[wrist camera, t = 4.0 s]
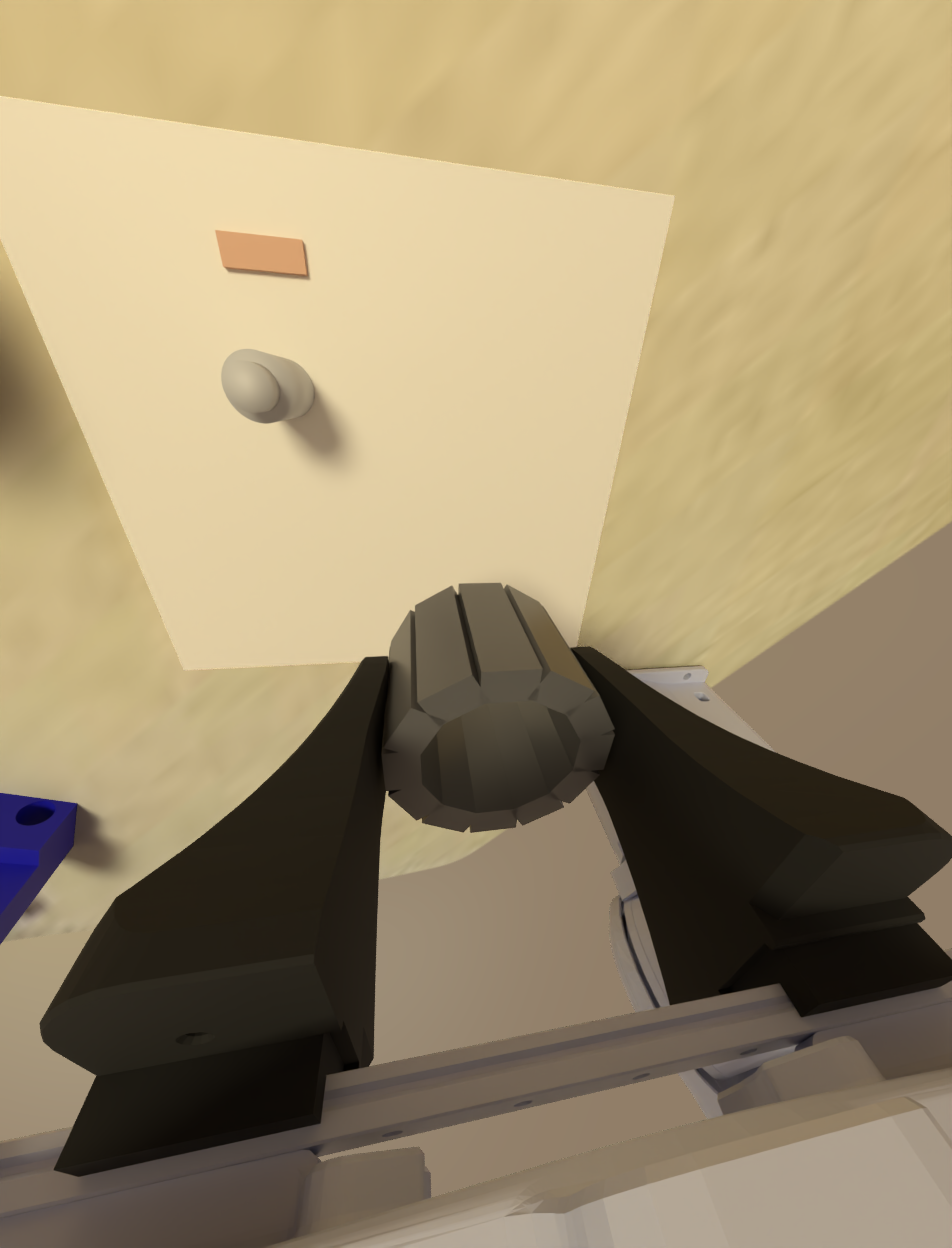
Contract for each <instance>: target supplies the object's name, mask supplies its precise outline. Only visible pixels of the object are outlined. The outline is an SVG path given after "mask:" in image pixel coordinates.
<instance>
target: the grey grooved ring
mask: <svg viewBox="0 0 952 1248" xmlns="http://www.w3.org/2000/svg"><path fill="white" fill-rule="evenodd" d="M614 729H615V728H614V726H613V724H612V722H611V720H610V717H609V715H608V713H607V711H606V709H605V706H604V704H603V702H602V700H601V698H600V695H599V694H598V692H597V691H596V689H595V687H594V686H593V684H592V683H591V681H590V679H589V678H588V676H587V675H586V673H585V672H584V670H583V668H582V667H581V665H580V664H579V662H578V660H577V659H576V657H575V656H574V654H573V652H572V651H571V649H570V648H569V646H568V645H567V643H566V641H565V640H564V638H563V637H562V635H561V633H560V632H559V630H558V629H557V627H556V625H555V624H554V622H553V621H552V619H551V618H550V616H549V614H548V613H547V611H546V610H545V608H544V606H542V605H541V604H540V602H539V601H537V600H535V599H533V598H531V597H529V596H528V595H526V594H524V593H522V592H520V591H518V590H517V589H515V588H513V587H511V586H509V585H508V584H507V585H506V586H505V588H503V586H502V584H501V583H459V585H458V594H457V592H456V591H455V589H454V588H453V586H450V587H448V588H446V589H444V590H442V591H440V592H439V593H437V594H435V595H433V596H431V597H429V598H428V599H426V600H424V601H422V602H420V603H418V604H416V605H415V612H414V611H412V610H410V611H409V613H408V614H407V616H406V617H405V619H404V621H403V622H402V624H401V626H400V627H399V629H398V631H397V632H396V634H395V635H394V637H393V639H392V640H391V646H390V649H389V675H388V689H387V696H386V701H385V714H384V727H383V740H382V753H381V755H382V764H383V772H384V781H385V790H386V791H389V793H388V796H389V797H390V798H391V799H393V800H394V801H395V802H396V803H397V804H398V805H399V806H401V807H402V808H403V809H404V810H405V811H406V812H407V813H409V814H410V815H411V816H412V817H413V818H414V819H416V820H419V819H421V818H422V823H424V824H429V825H433V826H437V827H442V828H446V829H451V830H455V831H460V832H464V831H465V830H466V829H467V828H468V827H469V826H470V833H472V832H481V831H489V830H498V829H506V828H515V827H516V823H517V820H518V821H519V822H520V823H521V824H522V825H525V824H527V823H529V822H531V821H534V820H536V819H538V818H541V817H543V816H545V815H547V814H550V813H552V812H554V811H557V810H559V809H561V808H563V807H564V806H563V803H562V801H563V802H566V803H571V802H572V801H573V800H574V799H575V798H576V797H577V796H578V795H579V794H580V793H581V792H582V791H583V790H584V789H586V788H587V787H588V786H589V785H590V784H591V783H592V782H593V781H594V780H595V779H596V778H597V777H598V776H599V775H600V773H599V771H598V770H604V767H605V764H606V761H607V758H608V754H609V751H610V748H611V745H612V742H613V739H614V736H615V734H614V732H613V730H614Z"/></svg>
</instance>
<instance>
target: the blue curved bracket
mask: <svg viewBox="0 0 952 1248" xmlns="http://www.w3.org/2000/svg"><path fill="white" fill-rule="evenodd" d="M76 812H77V803H70V802H63V801H56V800H49V799H41V798H34V797H27V796H19V795H12V794H5V793H0V944H1V943H2V942H3V940H4V939H5V938H6V936H7V935H8V933H9V932H10V931H11V929H12V928H13V927H14V925H15V924H16V923H17V921H18V920H19V919H20V917H21V916H22V915H23V913H24V912H25V910H26V909H27V908H28V906H29V905H30V904H31V902H32V901H33V900H34V898H35V897H36V896H37V894H38V893H39V892H40V890H41V889H42V887H43V886H44V885H45V883H46V882H47V881H48V879H49V878H50V877H51V875H52V874H53V873H54V871H55V870H56V868H57V867H58V866H59V864H60V863H61V862H62V860H63V859H64V858H65V856H66V855H67V854H68V852H69V851H70V850H71V848H72V847H73V843H74V833H75V822H76Z"/></svg>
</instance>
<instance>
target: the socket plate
mask: <svg viewBox="0 0 952 1248" xmlns="http://www.w3.org/2000/svg"><path fill="white" fill-rule="evenodd" d="M674 199H675V196H674V195H667V194H661V193H654V192H647V191H640V190H633V189H627V188H620V187H613V186H606V185H600V184H593V183H586V182H579V181H573V180H566V179H559V178H552V177H546V176H539V175H532V174H525V173H518V172H512V171H505V170H498V169H491V168H485V167H478V166H471V165H464V164H458V163H451V162H444V161H437V160H431V159H424V158H417V157H410V156H403V155H397V154H390V153H383V152H376V151H370V150H363V149H356V148H349V147H343V146H336V145H329V144H322V143H316V142H309V141H302V140H295V139H289V138H282V137H275V136H268V135H261V134H255V133H248V132H241V131H234V130H228V129H221V128H214V127H207V126H201V125H194V124H187V123H180V122H174V121H167V120H160V119H153V118H146V117H140V116H133V115H126V114H119V113H113V112H106V111H99V110H92V109H86V108H79V107H72V106H65V105H59V104H52V103H45V102H38V101H32V100H25V99H18V98H11V97H4V96H0V239H1V241H2V244H3V246H4V248H5V251H6V253H7V256H8V258H9V260H10V263H11V265H12V267H13V270H14V272H15V274H16V277H17V279H18V281H19V284H20V286H21V288H22V291H23V293H24V296H25V298H26V300H27V303H28V305H29V307H30V310H31V312H32V314H33V317H34V319H35V321H36V324H37V326H38V328H39V331H40V333H41V335H42V338H43V340H44V343H45V345H46V347H47V350H48V352H49V354H50V357H51V359H52V361H53V364H54V366H55V368H56V371H57V373H58V375H59V378H60V380H61V383H62V385H63V387H64V390H65V392H66V394H67V397H68V399H69V401H70V404H71V406H72V408H73V411H74V413H75V415H76V418H77V420H78V423H79V425H80V427H81V430H82V432H83V434H84V437H85V439H86V441H87V444H88V446H89V448H90V451H91V453H92V455H93V458H94V460H95V463H96V465H97V467H98V470H99V472H100V474H101V477H102V479H103V481H104V484H105V486H106V488H107V491H108V493H109V495H110V498H111V500H112V503H113V505H114V507H115V510H116V512H117V514H118V517H119V519H120V521H121V524H122V526H123V528H124V531H125V533H126V535H127V538H128V540H129V542H130V545H131V547H132V550H133V552H134V554H135V557H136V559H137V561H138V564H139V566H140V568H141V571H142V573H143V575H144V578H145V580H146V582H147V585H148V587H149V590H150V592H151V594H152V597H153V599H154V601H155V604H156V606H157V608H158V611H159V613H160V615H161V618H162V620H163V622H164V625H165V627H166V630H167V632H168V634H169V637H170V639H171V641H172V644H173V646H174V648H175V651H176V653H177V655H178V658H179V660H180V662H181V665H182V667H183V670H205V669H225V668H246V667H267V666H287V665H308V664H329V663H349V662H361V661H362V660H363V659H364V658H365V657H375V656H388V659H389V649H390V646H391V640H392V639H393V637H394V635H395V634H396V632H397V631H398V629H399V627H400V626H401V624H402V622H403V621H404V619H405V617H406V616H407V614H408V613H409V611H410V610H412V611H414V612H415V605H416V604H418V603H420V602H422V601H424V600H426V599H428V598H429V597H431V596H433V595H435V594H437V593H439V592H440V591H442V590H444V589H446V588H448V587H450V586H453V588H454V589H455V591H456V592H457V594H458V585H459V583H501V584H502V586H503V588H505V586H506V585H507V584H508V585H509V586H511V587H513V588H515V589H517V590H518V591H520V592H522V593H524V594H526V595H528V596H529V597H531V598H533V599H535V600H537V601H539V602H540V604H541V605H542V606H544V608H545V610H546V611H547V613H548V614H549V616H550V618H551V619H552V621H553V622H554V624H555V625H556V627H557V629H558V630H559V632H560V633H561V635H562V637H563V638H564V640H565V641H566V643H567V645H568V646H569V648H570V647H577V643H578V638H579V634H580V629H581V624H582V620H583V615H584V611H585V606H586V602H587V597H588V592H589V588H590V583H591V579H592V574H593V570H594V565H595V560H596V556H597V551H598V547H599V542H600V537H601V533H602V528H603V524H604V519H605V515H606V510H607V505H608V501H609V496H610V492H611V487H612V483H613V478H614V473H615V469H616V464H617V460H618V455H619V451H620V446H621V441H622V437H623V432H624V428H625V423H626V418H627V414H628V409H629V405H630V400H631V396H632V391H633V386H634V382H635V377H636V373H637V368H638V364H639V359H640V354H641V350H642V345H643V341H644V336H645V332H646V327H647V322H648V318H649V313H650V309H651V304H652V300H653V295H654V290H655V286H656V281H657V277H658V272H659V267H660V263H661V258H662V254H663V249H664V245H665V240H666V235H667V231H668V226H669V222H670V217H671V213H672V208H673V203H674Z"/></svg>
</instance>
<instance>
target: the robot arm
mask: <svg viewBox="0 0 952 1248" xmlns="http://www.w3.org/2000/svg"><path fill="white" fill-rule="evenodd" d="M570 649H571V651H572V652H573V654H574V656H575V657H576V659H577V660H578V662H579V664H580V665H581V667H582V668H583V670H584V672H585V673H586V675H587V676H588V678H589V679H590V681H591V683H592V684H593V686H594V687H595V689H596V691H597V692H598V694H599V695H600V698H601V700H602V702H603V704H604V706H605V709H606V711H607V713H608V715H609V717H610V720H611V722H612V724H613V726H614V728H615V729H614V730H613V732H614V734H615V736H614V739H613V742H612V745H611V748H610V751H609V754H608V758H607V761H606V764H605V767H604V770H598V771H599V773H600V775H599V776H598V777H597V778H596V779H595V780H594V781H593V782H592V783H591V784H590V785H589V786H588V787H587V788H586V790H587V792H588V795H589V797H590V799H591V801H592V803H593V806H594V808H595V810H596V812H597V815H598V817H599V819H600V821H601V823H602V826H603V828H604V830H605V833H606V835H607V837H608V839H609V841H610V844H611V846H612V848H613V850H614V853H615V855H616V857H617V859H618V862H619V863H620V866H619V867H617V868H616V869H614V870H613V871H611V875H612V878H613V880H614V882H615V885H616V887H617V890H618V891H619V894H620V895H618V896H616V897H615V898H614V899H613V900H612V902H611V904H610V911H609V919H610V922H609V936H610V943H611V948H612V953H613V956H614V960H615V963H616V966H617V969H618V972H619V975H620V978H621V981H622V983H623V986H624V988H625V991H626V993H627V995H628V997H629V999H630V1002H631V1004H632V1006H633V1008H634V1010H635V1013H630V1014H626V1015H621V1016H616V1017H611V1018H606V1019H601V1020H596V1021H591V1022H586V1023H581V1024H576V1025H571V1026H566V1027H562V1028H557V1029H552V1030H547V1031H542V1032H537V1033H532V1034H527V1035H522V1036H518V1037H512V1038H507V1039H502V1040H497V1041H492V1042H487V1043H483V1044H478V1045H473V1046H468V1047H463V1048H458V1049H453V1050H449V1051H443V1052H438V1053H434V1054H428V1055H424V1056H419V1057H414V1058H409V1059H404V1060H399V1061H394V1062H389V1063H384V1064H379V1065H375V1066H369V1065H370V1063H371V1061H372V1060H373V1058H374V1057H373V1056H374V1011H375V970H376V938H377V908H378V880H379V856H380V836H381V826H382V817H383V809H384V802H385V795H386V790H385V781H384V772H383V764H382V755H381V753H382V740H383V727H384V714H385V701H386V696H387V689H388V675H389V659H388V656H375V657H365V658H364V659H363V660H362V661H361V663H360V665H359V667H358V668H357V670H356V672H355V673H354V675H353V677H352V678H351V680H350V681H349V683H348V685H347V686H346V688H345V689H344V691H343V692H342V693H341V695H340V696H339V698H338V699H337V701H336V702H335V703H334V705H333V706H332V708H331V709H330V710H329V712H328V713H327V714H326V715H325V717H324V718H323V719H322V720H321V722H320V723H319V724H318V725H317V727H316V728H315V729H314V730H313V732H312V733H311V734H310V735H309V736H308V738H307V739H306V740H305V741H304V742H303V743H302V744H301V746H300V747H299V748H298V749H297V750H296V751H295V752H294V753H293V754H292V755H291V756H290V757H289V758H288V759H287V761H286V762H285V763H284V764H283V765H282V766H281V767H280V768H279V769H278V770H277V771H276V772H275V773H274V774H272V775H271V776H270V777H269V778H268V779H267V780H266V781H265V782H264V783H263V784H262V785H261V786H260V787H259V788H258V789H257V790H256V791H255V792H253V793H252V794H251V795H250V796H249V797H248V798H247V799H246V800H245V801H243V802H242V803H241V804H240V805H239V806H238V807H236V808H235V809H234V810H233V811H232V812H230V813H229V814H228V815H227V816H225V817H224V818H223V819H222V820H221V821H219V822H218V823H217V824H216V825H215V826H213V827H212V828H211V829H210V830H208V831H207V832H206V833H205V834H204V835H202V836H201V837H200V838H198V839H197V840H196V841H195V842H193V843H192V844H191V845H189V846H188V847H187V848H185V849H184V850H183V851H181V852H180V853H178V854H177V855H176V856H174V857H173V858H171V859H170V860H169V861H167V862H166V863H165V864H163V865H162V866H160V867H159V868H158V869H156V870H155V871H153V872H152V873H151V874H149V875H148V876H146V877H145V878H144V879H142V880H141V881H139V882H138V883H137V884H135V885H134V886H132V887H131V888H129V889H128V890H126V891H125V892H124V893H122V894H121V895H119V896H118V897H116V898H115V900H114V902H113V903H112V905H111V906H110V908H109V909H108V911H107V912H106V913H105V915H104V916H103V918H102V919H101V921H100V922H99V924H98V925H97V926H96V928H95V929H94V931H93V933H92V934H91V936H90V938H89V940H88V941H87V943H86V944H85V946H84V948H83V949H82V951H81V953H80V955H79V956H78V958H77V960H76V961H75V963H74V965H73V967H72V968H71V970H70V972H69V974H68V975H67V977H66V979H65V980H64V982H63V984H62V985H61V987H60V989H59V991H58V992H57V994H56V996H55V997H54V999H53V1001H52V1003H51V1004H50V1006H49V1008H48V1010H47V1011H46V1013H45V1015H44V1017H43V1018H42V1020H41V1022H40V1030H41V1036H42V1039H43V1042H44V1043H45V1044H47V1045H48V1046H49V1047H50V1048H51V1049H52V1050H53V1051H55V1052H57V1053H58V1054H60V1055H62V1056H64V1057H65V1058H67V1059H69V1060H70V1061H72V1062H74V1063H76V1064H77V1065H79V1066H81V1067H83V1068H84V1069H86V1070H88V1071H90V1072H91V1073H93V1074H95V1075H96V1078H95V1080H94V1082H93V1084H92V1087H91V1089H90V1091H89V1093H88V1096H87V1097H86V1100H85V1102H84V1105H83V1107H82V1108H81V1111H80V1113H79V1115H78V1117H77V1119H76V1121H75V1124H74V1126H73V1127H69V1128H63V1129H59V1130H54V1131H49V1132H44V1133H39V1134H34V1135H29V1136H24V1137H19V1138H14V1139H9V1140H4V1141H0V1248H952V948H951V949H947V950H942V949H941V948H940V947H939V945H937V944H936V942H935V941H934V940H933V939H932V938H931V937H930V936H929V935H928V934H927V933H926V932H925V931H924V930H923V929H922V928H921V927H920V926H919V925H918V924H917V923H918V922H922V921H923V920H925V916H924V913H923V912H922V911H921V910H920V909H919V908H918V907H917V906H916V905H915V904H914V903H913V902H912V901H911V900H910V899H909V898H908V897H907V896H909V895H910V894H911V893H912V892H914V891H915V890H916V889H917V888H919V887H920V886H921V885H922V884H923V883H925V882H926V881H927V880H929V879H930V878H931V877H932V876H933V875H935V874H936V873H937V872H938V871H939V870H940V869H942V868H943V867H944V866H945V865H946V864H947V863H948V862H949V861H950V859H951V858H952V836H951V835H950V834H949V833H948V832H946V831H945V830H944V829H943V828H941V827H940V826H939V825H937V823H935V822H934V821H933V820H932V819H930V818H929V817H928V816H927V815H926V814H924V813H923V812H922V811H921V810H919V809H918V808H917V807H916V806H915V805H913V804H912V803H911V802H909V801H908V800H906V799H905V798H903V797H900V796H897V795H894V794H890V793H888V792H884V791H881V790H878V789H875V788H872V787H869V786H866V785H862V784H860V783H857V782H853V781H850V780H847V779H844V778H841V777H838V776H835V775H833V774H830V773H827V772H824V771H822V770H819V769H816V768H814V767H811V766H808V765H806V764H803V763H800V762H797V761H795V760H793V759H790V758H788V757H785V756H783V755H780V754H778V753H776V752H775V751H774V750H773V749H772V748H771V747H770V746H769V745H768V744H767V743H766V742H765V741H764V740H763V739H762V738H761V737H760V736H759V735H758V734H757V733H756V732H755V731H754V730H753V729H752V728H751V727H750V726H749V725H748V724H747V723H746V722H745V721H744V720H743V719H742V718H740V717H739V715H738V714H737V713H735V712H734V711H733V710H732V709H731V708H730V707H729V706H728V705H727V704H726V703H725V702H724V701H723V700H722V699H721V698H720V697H719V696H718V695H717V694H716V693H715V692H714V691H713V690H712V689H711V688H710V687H709V686H708V685H707V684H706V683H705V680H706V678H707V676H708V670H707V669H706V668H705V667H703V666H691V667H674V668H657V669H639V670H625V669H623V668H622V667H620V666H619V665H617V664H616V663H614V662H613V661H612V660H610V659H609V658H607V657H606V656H604V655H603V654H601V653H600V652H598V651H596V650H595V649H593V648H591V647H570ZM676 1073H678V1074H679V1076H680V1077H681V1079H682V1080H683V1081H684V1083H685V1084H686V1086H687V1087H688V1089H689V1090H690V1092H691V1093H692V1095H693V1096H694V1098H695V1100H696V1101H697V1103H698V1105H699V1106H700V1108H701V1109H702V1111H703V1113H704V1114H705V1116H706V1117H707V1119H706V1120H702V1121H698V1122H694V1123H690V1124H686V1125H682V1126H679V1127H675V1128H671V1129H667V1130H663V1131H660V1132H656V1133H652V1134H649V1135H645V1136H642V1137H638V1138H634V1139H630V1140H627V1141H623V1142H620V1143H616V1144H612V1145H609V1146H605V1147H602V1148H598V1149H595V1150H592V1151H588V1152H585V1153H581V1154H578V1155H574V1156H571V1157H567V1158H564V1159H561V1160H557V1161H553V1162H550V1163H547V1164H543V1165H540V1166H537V1167H533V1168H530V1169H527V1170H523V1171H520V1172H517V1173H513V1174H510V1175H506V1176H503V1177H500V1178H496V1179H493V1180H490V1181H486V1182H483V1183H479V1184H476V1185H473V1186H469V1187H466V1188H463V1189H459V1190H456V1191H452V1192H449V1193H446V1194H443V1195H439V1196H435V1197H432V1198H431V1179H430V1178H431V1175H430V1172H429V1170H428V1169H427V1167H425V1163H424V1162H425V1161H424V1153H423V1152H422V1150H421V1149H420V1147H411V1148H402V1149H395V1150H386V1151H377V1152H369V1153H360V1154H353V1155H347V1156H341V1157H337V1158H334V1159H330V1160H326V1161H324V1162H321V1161H320V1159H319V1158H318V1157H319V1156H324V1155H328V1154H332V1153H336V1152H341V1151H345V1150H349V1149H354V1148H358V1147H362V1146H367V1145H371V1144H375V1143H380V1142H384V1141H388V1140H393V1139H397V1138H401V1137H405V1136H410V1135H414V1134H418V1133H423V1132H427V1131H431V1130H436V1129H440V1128H444V1127H449V1126H452V1125H457V1124H461V1123H466V1122H470V1121H474V1120H479V1119H483V1118H487V1117H491V1116H495V1115H500V1114H504V1113H509V1112H513V1111H517V1110H521V1109H526V1108H530V1107H534V1106H539V1105H543V1104H547V1103H552V1102H556V1101H560V1100H564V1099H569V1098H573V1097H577V1096H582V1095H586V1094H590V1093H595V1092H599V1091H603V1090H607V1089H612V1088H616V1087H620V1086H625V1085H629V1084H633V1083H638V1082H641V1081H646V1080H650V1079H655V1078H659V1077H663V1076H667V1075H672V1074H676Z"/></svg>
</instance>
